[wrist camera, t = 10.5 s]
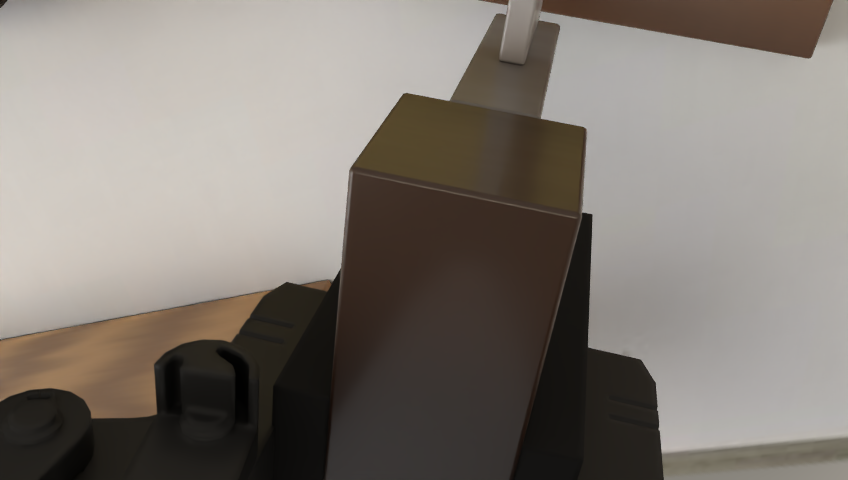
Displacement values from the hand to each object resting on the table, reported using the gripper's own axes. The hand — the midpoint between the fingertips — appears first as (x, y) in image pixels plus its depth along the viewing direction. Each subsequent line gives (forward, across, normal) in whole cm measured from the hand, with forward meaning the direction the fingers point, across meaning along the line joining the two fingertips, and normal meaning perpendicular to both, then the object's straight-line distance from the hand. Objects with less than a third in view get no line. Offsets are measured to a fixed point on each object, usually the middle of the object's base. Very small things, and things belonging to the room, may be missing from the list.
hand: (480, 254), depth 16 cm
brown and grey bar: (+1, 0, +6) cm, 7 cm away
